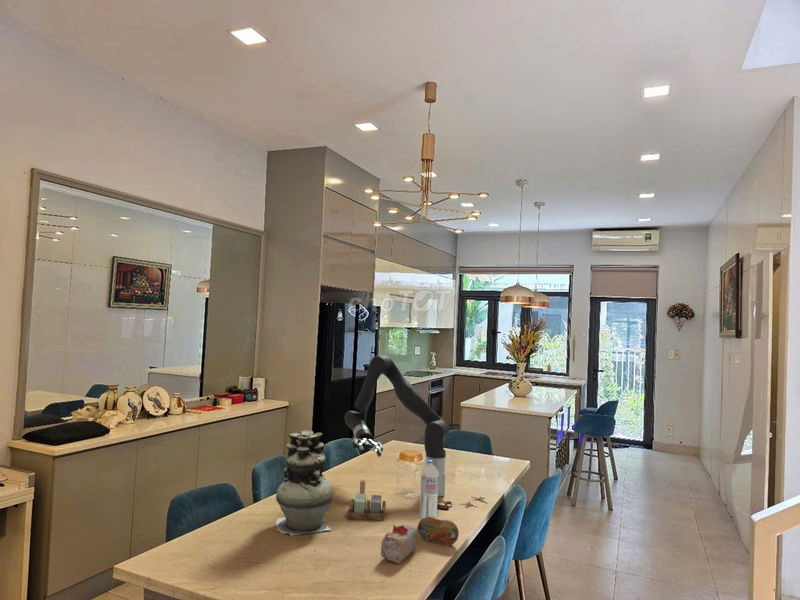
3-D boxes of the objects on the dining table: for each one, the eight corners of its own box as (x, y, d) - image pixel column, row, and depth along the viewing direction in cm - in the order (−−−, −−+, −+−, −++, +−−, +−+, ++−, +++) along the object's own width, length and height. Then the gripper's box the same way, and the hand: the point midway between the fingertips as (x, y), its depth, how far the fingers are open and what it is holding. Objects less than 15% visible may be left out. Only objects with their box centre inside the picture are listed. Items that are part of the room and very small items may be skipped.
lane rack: (385, 509, 221) (385, 501, 221) (384, 520, 209) (384, 511, 209) (351, 507, 221) (352, 499, 221) (348, 518, 209) (349, 509, 209)
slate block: (380, 510, 221) (381, 495, 221) (379, 517, 212) (380, 502, 212) (371, 509, 221) (371, 494, 221) (369, 517, 212) (370, 502, 212)
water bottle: (438, 524, 207) (441, 459, 208) (433, 530, 201) (436, 463, 202) (421, 521, 209) (424, 457, 211) (416, 527, 203) (419, 461, 204)
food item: (400, 567, 169) (401, 535, 170) (378, 561, 173) (379, 530, 173) (417, 551, 181) (419, 522, 182) (396, 546, 185) (398, 517, 185)
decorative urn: (282, 542, 185) (287, 441, 186) (268, 519, 204) (272, 428, 205) (339, 532, 195) (344, 437, 196) (320, 511, 214) (325, 424, 214)
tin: (417, 539, 192) (418, 515, 192) (420, 536, 195) (421, 513, 195) (455, 549, 185) (456, 524, 185) (459, 546, 188) (460, 521, 188)
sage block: (366, 503, 228) (367, 479, 228) (363, 517, 211) (365, 491, 212) (357, 502, 228) (358, 479, 228) (353, 516, 211) (355, 491, 212)
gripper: (351, 425, 249) (359, 443, 234) (379, 430, 254) (388, 448, 239) (346, 439, 250) (353, 458, 235) (373, 444, 255) (382, 463, 240)
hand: (371, 453), depth 237 cm, fingers open, 8 cm apart
